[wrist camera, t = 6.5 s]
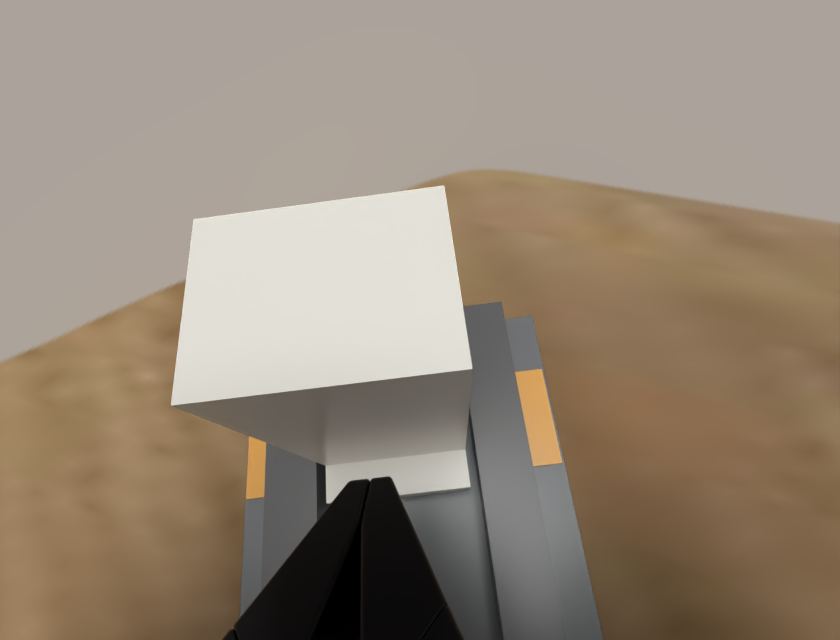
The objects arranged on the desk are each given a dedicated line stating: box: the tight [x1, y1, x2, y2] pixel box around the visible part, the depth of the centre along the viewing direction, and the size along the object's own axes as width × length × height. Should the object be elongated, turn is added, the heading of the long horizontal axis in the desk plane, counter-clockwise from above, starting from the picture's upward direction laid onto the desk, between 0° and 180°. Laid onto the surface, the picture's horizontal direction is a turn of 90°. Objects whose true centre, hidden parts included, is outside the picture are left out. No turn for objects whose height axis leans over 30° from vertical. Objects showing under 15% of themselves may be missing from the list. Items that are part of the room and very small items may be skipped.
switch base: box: [240, 302, 603, 640], centre depth 13 cm, size 16×10×4 cm, turn 6°
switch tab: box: [171, 186, 473, 504], centre depth 11 cm, size 5×4×9 cm
